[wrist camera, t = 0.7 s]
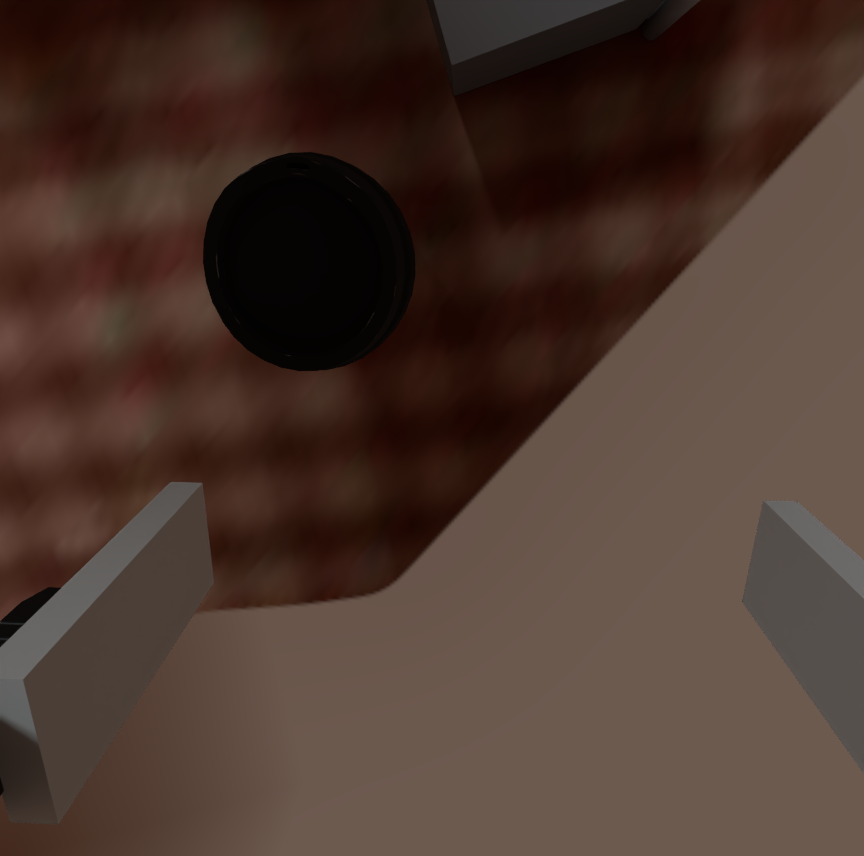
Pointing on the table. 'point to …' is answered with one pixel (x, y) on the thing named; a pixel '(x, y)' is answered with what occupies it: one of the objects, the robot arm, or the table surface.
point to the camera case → (524, 33)
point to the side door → (665, 17)
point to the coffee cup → (308, 261)
